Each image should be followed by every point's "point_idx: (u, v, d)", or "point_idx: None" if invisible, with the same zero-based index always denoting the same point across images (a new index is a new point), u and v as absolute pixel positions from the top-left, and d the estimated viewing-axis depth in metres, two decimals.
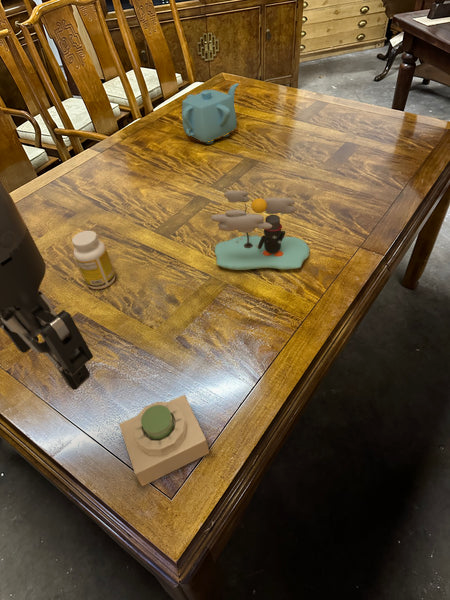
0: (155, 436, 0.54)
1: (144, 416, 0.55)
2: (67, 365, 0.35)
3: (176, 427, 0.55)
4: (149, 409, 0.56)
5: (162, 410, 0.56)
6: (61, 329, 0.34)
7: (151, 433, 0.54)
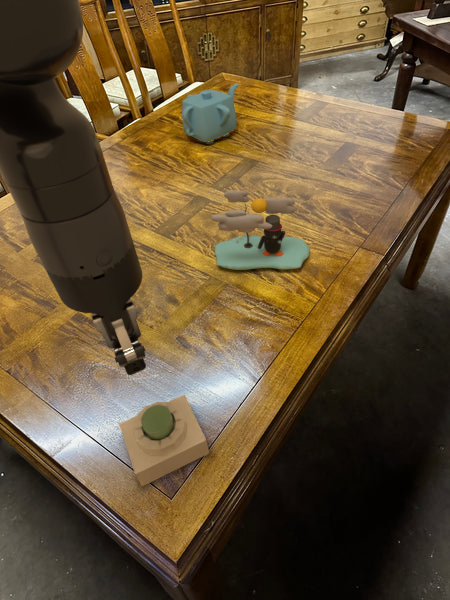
0: (155, 436, 0.54)
1: (144, 416, 0.55)
2: (122, 366, 0.40)
3: (176, 427, 0.55)
4: (149, 409, 0.56)
5: (162, 410, 0.56)
6: (132, 360, 0.37)
7: (151, 433, 0.54)
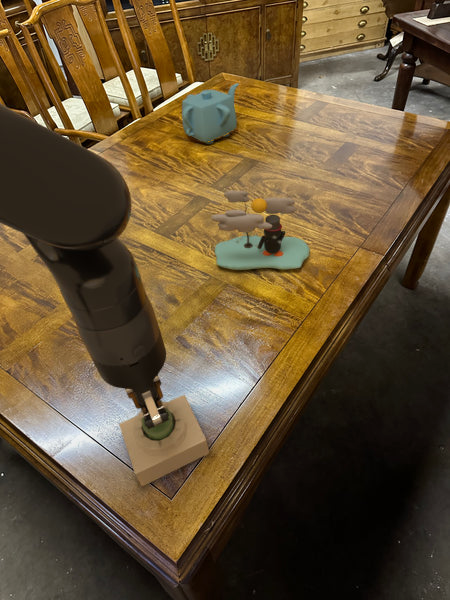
0: (155, 437, 0.54)
1: None
2: None
3: (176, 427, 0.55)
4: None
5: None
6: (158, 424, 0.45)
7: (151, 435, 0.54)
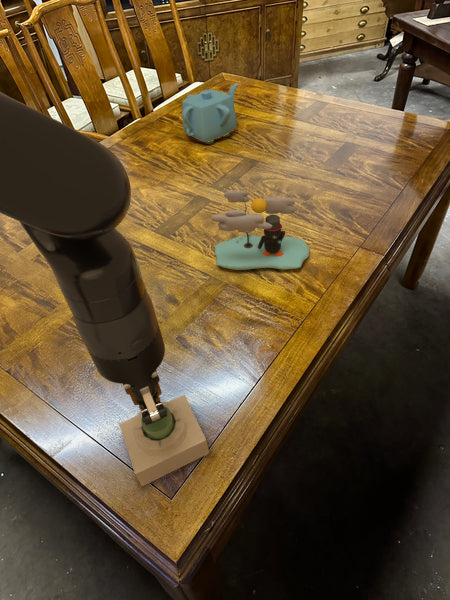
0: (155, 436, 0.54)
1: None
2: None
3: (176, 427, 0.55)
4: None
5: None
6: (156, 420, 0.45)
7: (151, 433, 0.54)
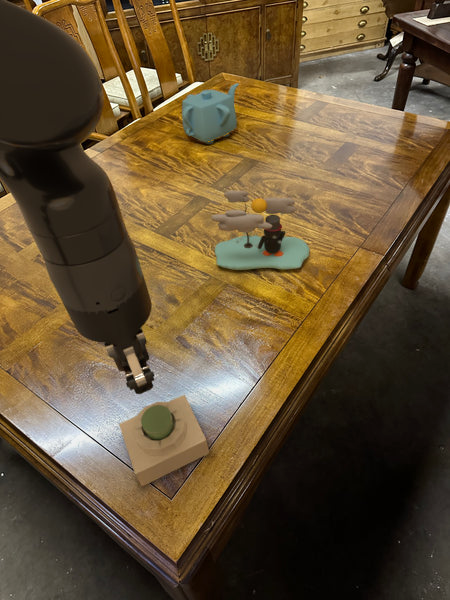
0: (155, 436, 0.54)
1: (144, 416, 0.55)
2: None
3: (176, 427, 0.55)
4: (149, 409, 0.56)
5: (162, 410, 0.56)
6: (142, 385, 0.40)
7: (151, 433, 0.54)
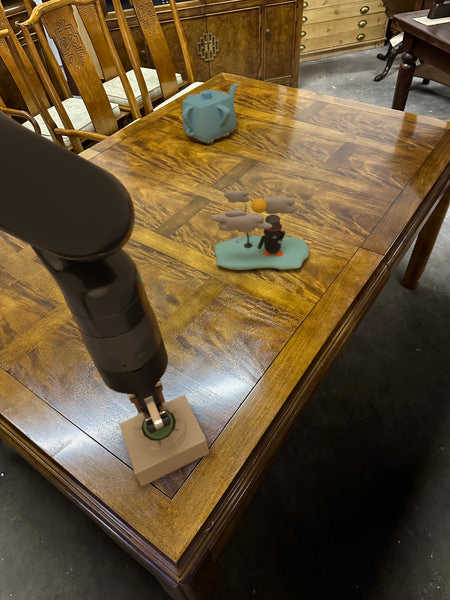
0: None
1: None
2: None
3: (176, 427, 0.55)
4: None
5: None
6: (160, 428, 0.46)
7: (153, 438, 0.55)
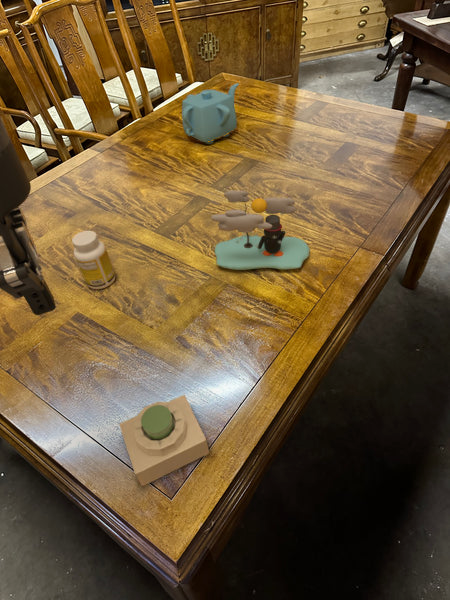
0: (155, 436, 0.54)
1: (144, 416, 0.55)
2: (13, 296, 0.37)
3: (176, 427, 0.55)
4: (149, 409, 0.56)
5: (162, 410, 0.56)
6: (15, 283, 0.34)
7: (151, 433, 0.54)
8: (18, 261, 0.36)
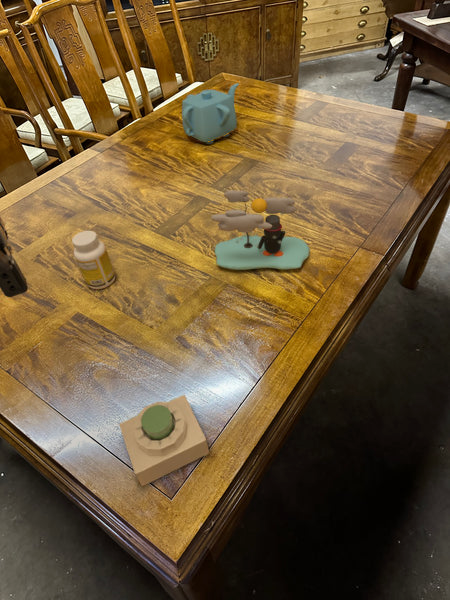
0: (155, 436, 0.54)
1: (144, 416, 0.55)
2: None
3: (176, 427, 0.55)
4: (149, 409, 0.56)
5: (162, 410, 0.56)
6: None
7: (151, 433, 0.54)
8: None
